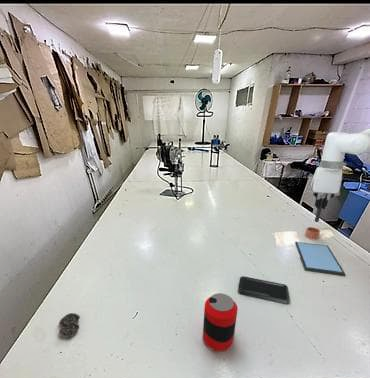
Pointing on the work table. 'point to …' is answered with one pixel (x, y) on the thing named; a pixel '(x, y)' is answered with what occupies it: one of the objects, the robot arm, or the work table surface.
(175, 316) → the work table surface
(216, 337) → the soda can
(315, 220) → the stylus
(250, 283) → the phone
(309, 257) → the tablet
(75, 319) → the corroded twin loop
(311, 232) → the pen cup
